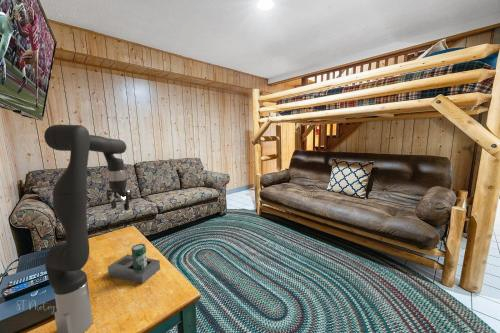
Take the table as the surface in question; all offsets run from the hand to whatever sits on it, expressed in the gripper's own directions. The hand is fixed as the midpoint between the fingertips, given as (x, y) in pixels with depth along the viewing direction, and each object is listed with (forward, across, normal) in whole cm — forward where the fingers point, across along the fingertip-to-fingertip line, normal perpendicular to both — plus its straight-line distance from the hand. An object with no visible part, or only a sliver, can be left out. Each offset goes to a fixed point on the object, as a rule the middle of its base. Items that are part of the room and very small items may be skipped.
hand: (120, 209), depth 110 cm
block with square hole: (+33, +8, -2) cm, 34 cm away
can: (+33, +12, -2) cm, 35 cm away
